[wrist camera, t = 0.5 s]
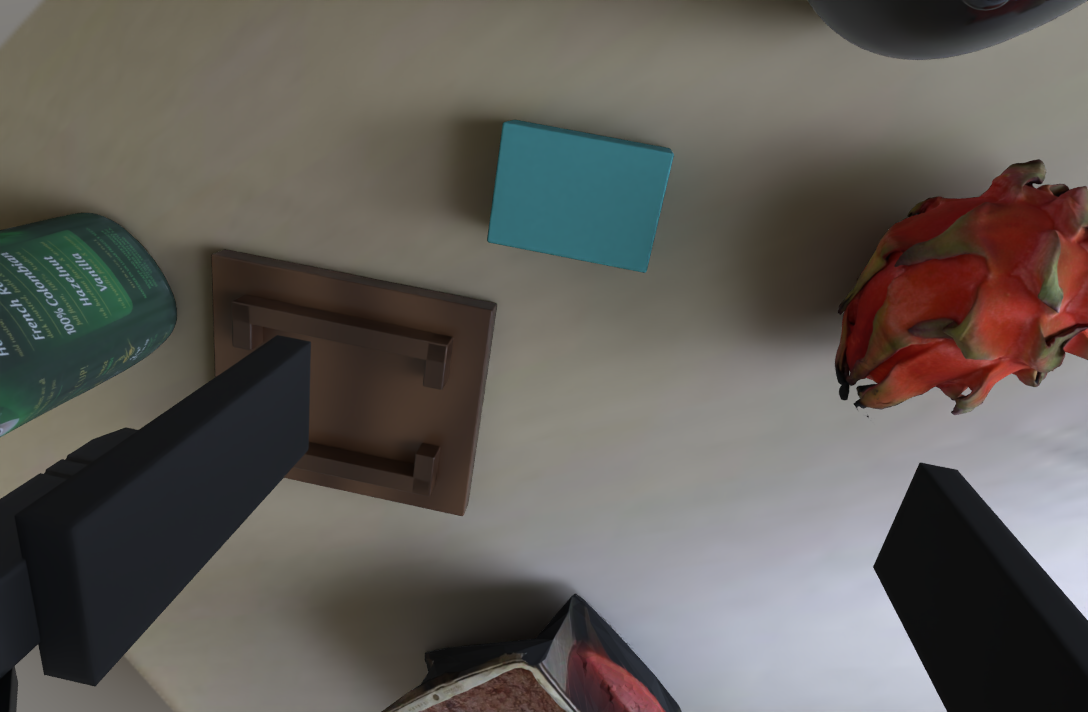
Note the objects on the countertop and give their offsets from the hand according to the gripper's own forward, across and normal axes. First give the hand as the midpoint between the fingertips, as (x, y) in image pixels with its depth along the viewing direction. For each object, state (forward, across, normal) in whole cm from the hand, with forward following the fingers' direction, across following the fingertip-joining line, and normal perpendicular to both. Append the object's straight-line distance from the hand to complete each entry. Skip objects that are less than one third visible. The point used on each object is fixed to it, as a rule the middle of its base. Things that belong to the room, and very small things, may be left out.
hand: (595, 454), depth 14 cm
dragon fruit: (+18, +14, +2) cm, 23 cm away
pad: (+18, -2, +3) cm, 18 cm away
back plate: (+18, -12, -9) cm, 23 cm away
